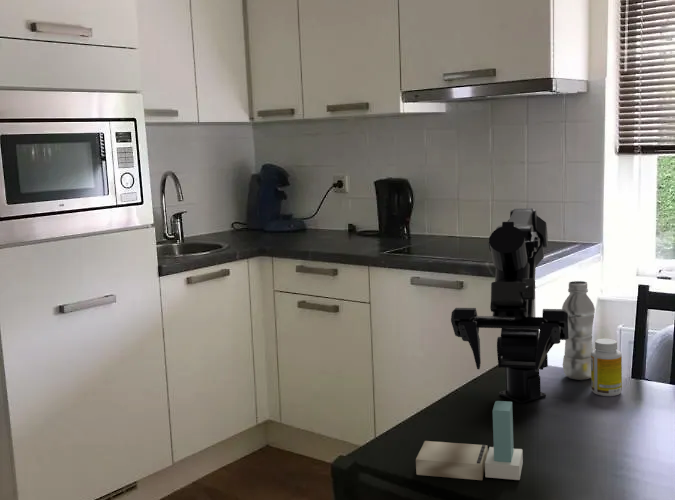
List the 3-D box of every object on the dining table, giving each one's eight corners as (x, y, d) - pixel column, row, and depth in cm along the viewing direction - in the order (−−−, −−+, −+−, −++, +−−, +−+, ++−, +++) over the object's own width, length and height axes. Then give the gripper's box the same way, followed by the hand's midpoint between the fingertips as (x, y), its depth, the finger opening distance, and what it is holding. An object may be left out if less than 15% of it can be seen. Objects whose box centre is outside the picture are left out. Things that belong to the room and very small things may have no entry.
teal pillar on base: (485, 477, 112) (483, 412, 110) (490, 460, 117) (488, 398, 116) (519, 480, 110) (517, 414, 109) (522, 462, 116) (521, 399, 114)
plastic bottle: (595, 373, 155) (594, 279, 152) (595, 384, 149) (594, 286, 146) (563, 372, 157) (561, 279, 154) (562, 382, 151) (560, 286, 148)
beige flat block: (416, 474, 115) (415, 458, 114) (425, 455, 121) (424, 439, 121) (482, 480, 111) (481, 463, 111) (487, 460, 118) (487, 444, 118)
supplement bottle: (628, 394, 142) (628, 342, 141) (604, 399, 141) (604, 346, 139) (608, 385, 148) (608, 335, 146) (585, 390, 146) (584, 339, 144)
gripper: (450, 261, 125) (441, 343, 116) (567, 260, 119) (566, 346, 110) (459, 296, 133) (451, 375, 125) (568, 297, 127) (568, 380, 119)
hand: (506, 369), depth 119 cm, fingers open, 9 cm apart
